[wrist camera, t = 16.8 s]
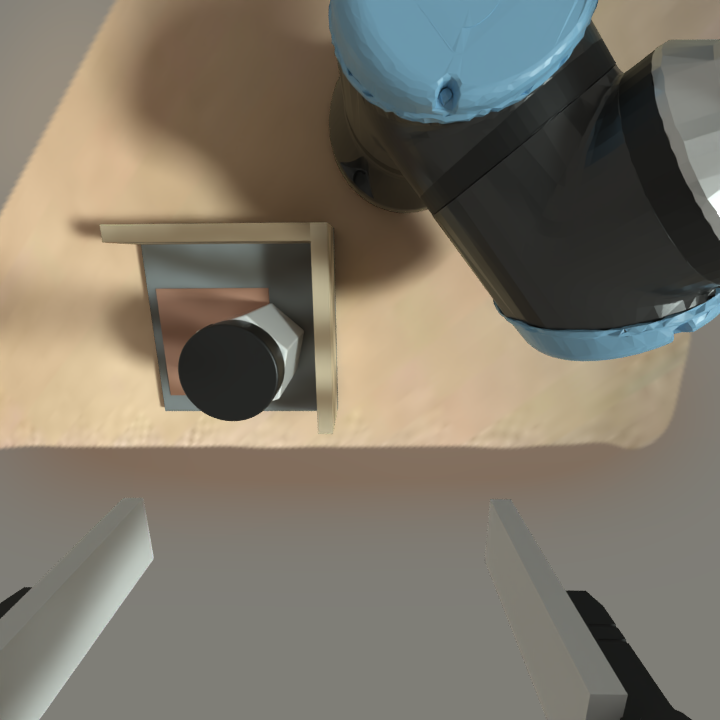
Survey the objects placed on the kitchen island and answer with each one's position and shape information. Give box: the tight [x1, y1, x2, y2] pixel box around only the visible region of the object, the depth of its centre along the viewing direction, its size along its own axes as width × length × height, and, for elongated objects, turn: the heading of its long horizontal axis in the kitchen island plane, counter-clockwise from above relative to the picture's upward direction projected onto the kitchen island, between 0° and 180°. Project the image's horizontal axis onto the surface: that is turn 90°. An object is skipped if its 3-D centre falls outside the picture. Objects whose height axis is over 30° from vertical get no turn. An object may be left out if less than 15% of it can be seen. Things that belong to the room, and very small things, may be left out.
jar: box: [178, 303, 304, 421], centre depth 36 cm, size 9×8×12 cm
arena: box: [99, 222, 338, 434], centre depth 39 cm, size 20×20×7 cm
